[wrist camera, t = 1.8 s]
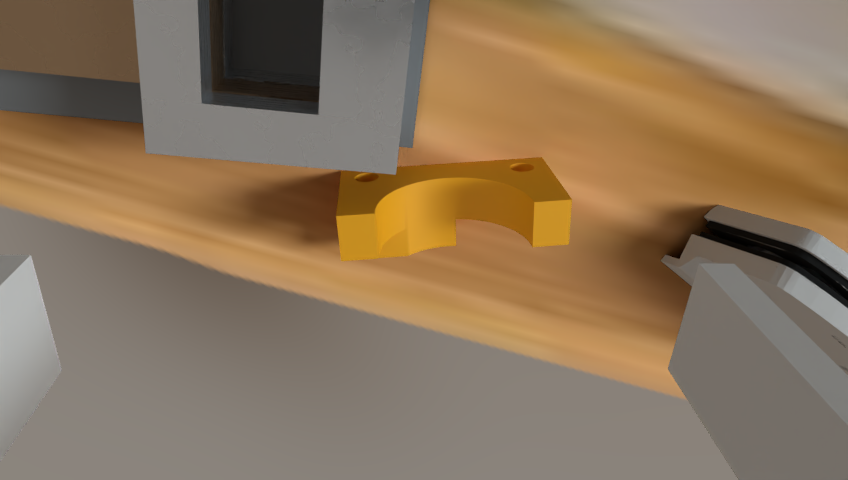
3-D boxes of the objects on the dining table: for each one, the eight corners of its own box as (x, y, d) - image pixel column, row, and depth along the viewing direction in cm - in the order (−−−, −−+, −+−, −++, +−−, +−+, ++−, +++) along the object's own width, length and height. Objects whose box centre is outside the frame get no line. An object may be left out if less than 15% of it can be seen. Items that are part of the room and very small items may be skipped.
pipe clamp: (348, 235, 39) (344, 289, 33) (341, 169, 37) (336, 216, 31) (538, 221, 40) (566, 273, 34) (541, 156, 38) (572, 199, 32)
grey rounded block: (656, 257, 42) (780, 300, 32) (697, 198, 42) (832, 224, 32) (799, 374, 47) (939, 440, 38) (835, 323, 47) (984, 376, 38)
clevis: (-36, -126, 29) (-148, -137, 22) (411, -67, 31) (421, -61, 25) (4, 92, 33) (-80, 133, 27) (391, 128, 36) (395, 174, 29)
